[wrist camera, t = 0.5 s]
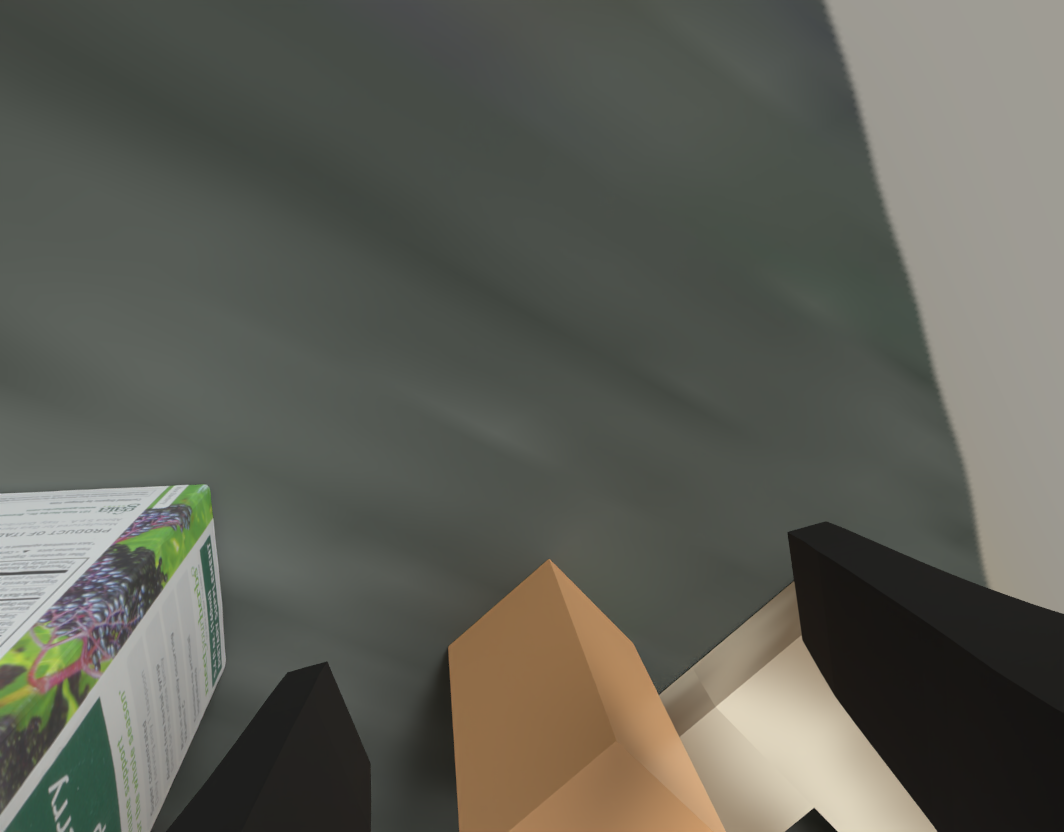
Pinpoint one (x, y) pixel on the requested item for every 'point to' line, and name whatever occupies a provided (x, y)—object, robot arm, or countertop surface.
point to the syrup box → (103, 652)
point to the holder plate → (781, 736)
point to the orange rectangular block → (564, 723)
